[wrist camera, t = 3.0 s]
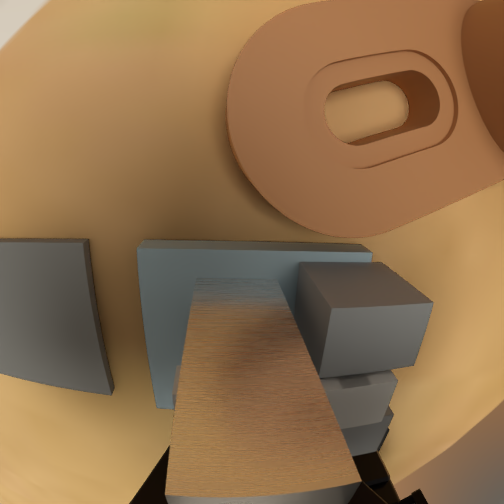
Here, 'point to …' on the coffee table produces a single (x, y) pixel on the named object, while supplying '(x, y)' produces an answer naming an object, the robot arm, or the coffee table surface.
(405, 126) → the bracket
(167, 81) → the coffee table surface
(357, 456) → the robot arm
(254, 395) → the wood-topped grey block
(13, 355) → the mat
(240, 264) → the vise
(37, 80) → the coffee table surface
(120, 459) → the coffee table surface
